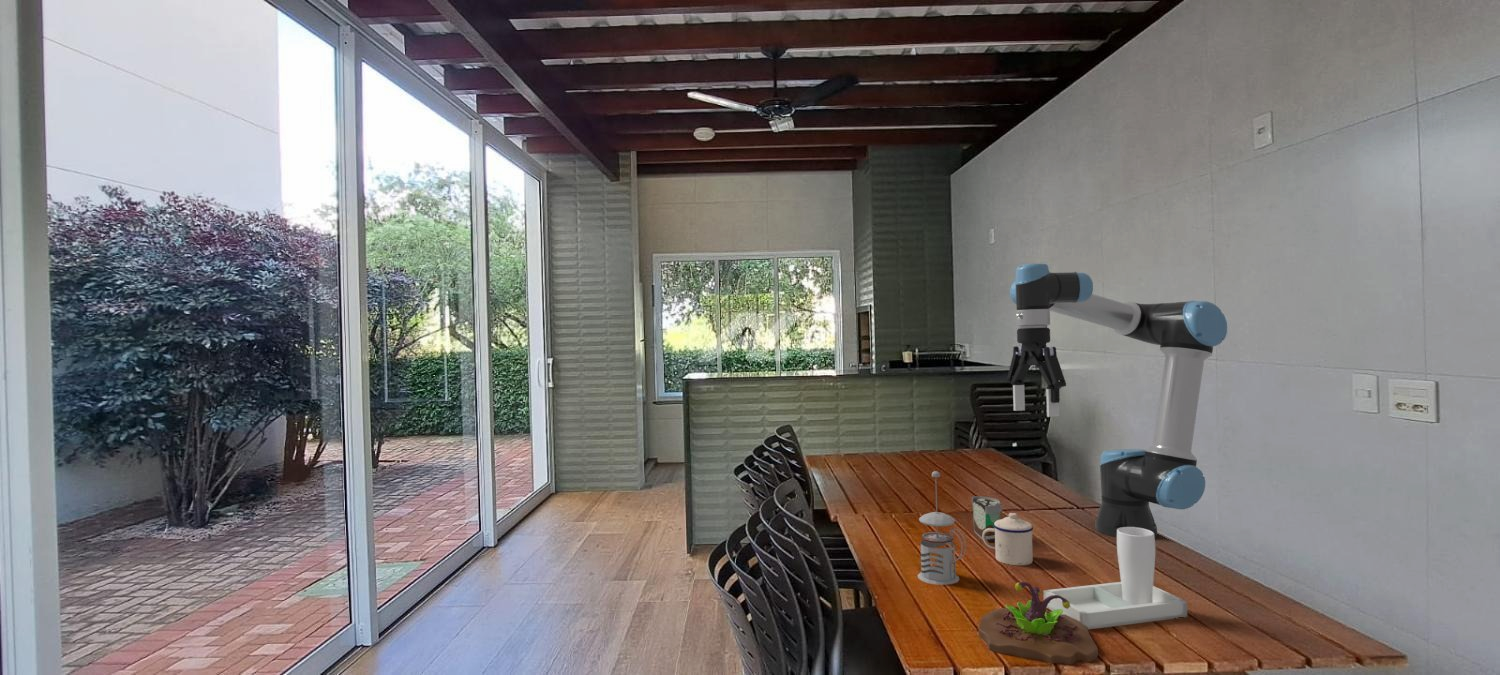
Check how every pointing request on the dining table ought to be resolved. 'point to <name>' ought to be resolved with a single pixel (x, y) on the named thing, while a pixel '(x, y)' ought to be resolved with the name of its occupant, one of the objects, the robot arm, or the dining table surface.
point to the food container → (985, 515)
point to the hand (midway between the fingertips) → (1035, 413)
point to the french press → (946, 570)
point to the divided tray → (1114, 605)
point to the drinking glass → (1136, 564)
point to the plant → (1037, 631)
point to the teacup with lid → (1012, 540)
